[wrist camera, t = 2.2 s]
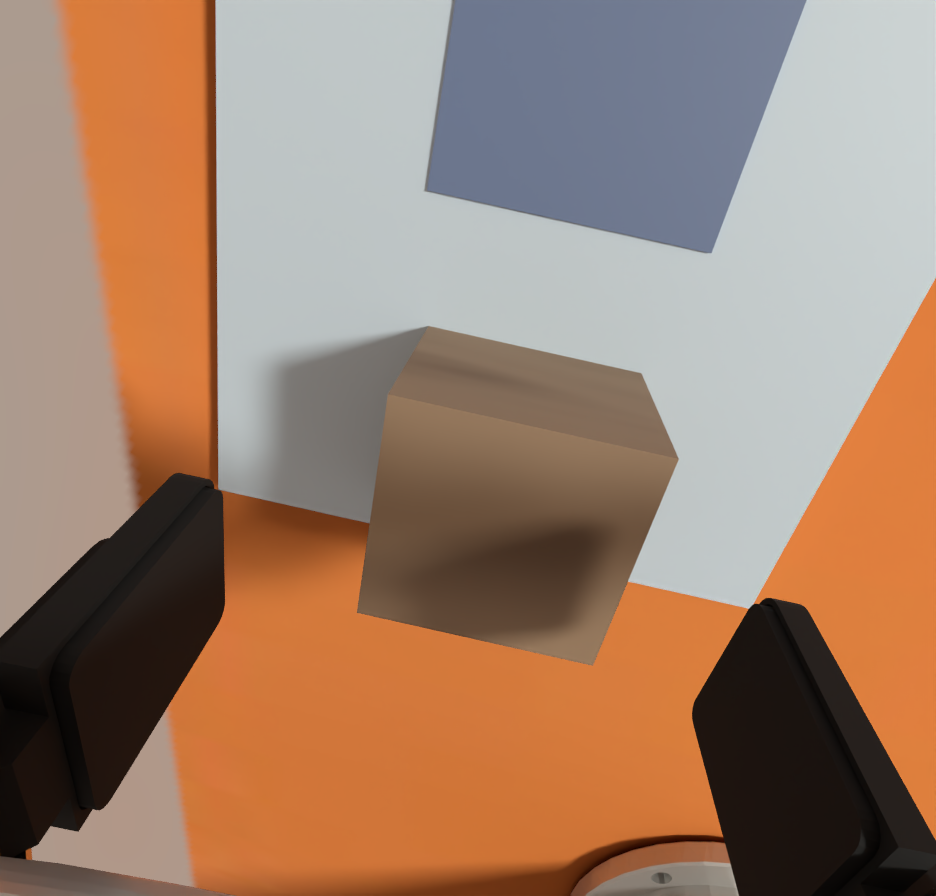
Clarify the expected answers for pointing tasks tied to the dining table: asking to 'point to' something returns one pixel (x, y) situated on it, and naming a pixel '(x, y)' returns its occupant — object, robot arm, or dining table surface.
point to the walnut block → (512, 494)
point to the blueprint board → (575, 232)
